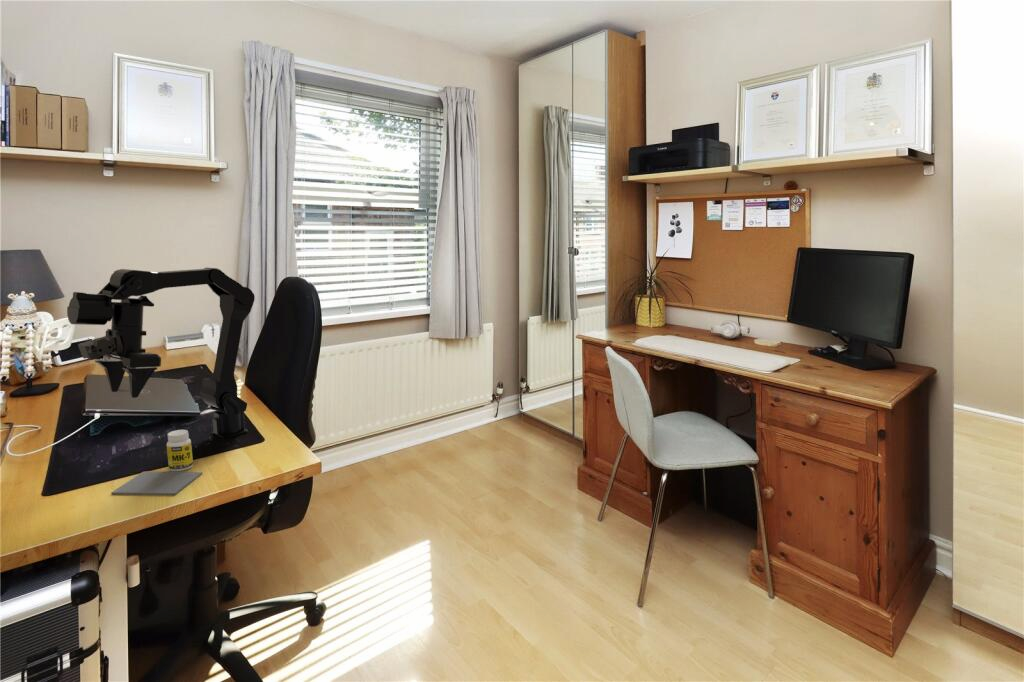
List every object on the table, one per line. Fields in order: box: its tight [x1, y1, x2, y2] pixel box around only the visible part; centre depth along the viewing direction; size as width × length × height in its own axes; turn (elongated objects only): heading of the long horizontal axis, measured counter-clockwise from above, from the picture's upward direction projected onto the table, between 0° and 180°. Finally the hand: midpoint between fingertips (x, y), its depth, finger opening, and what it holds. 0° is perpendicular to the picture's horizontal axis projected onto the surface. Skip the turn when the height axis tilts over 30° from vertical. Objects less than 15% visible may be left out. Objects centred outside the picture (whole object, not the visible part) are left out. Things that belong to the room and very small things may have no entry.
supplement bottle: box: [166, 429, 194, 472], centre depth 124 cm, size 5×5×8 cm
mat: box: [110, 470, 203, 496], centre depth 117 cm, size 10×13×1 cm
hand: (124, 394), depth 123 cm, fingers open, 9 cm apart
